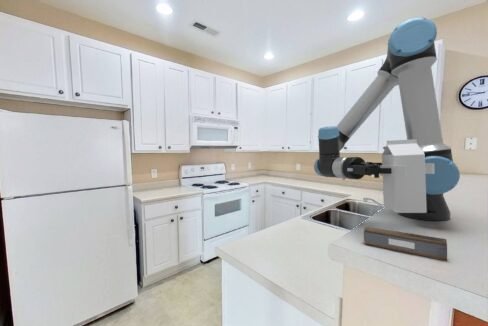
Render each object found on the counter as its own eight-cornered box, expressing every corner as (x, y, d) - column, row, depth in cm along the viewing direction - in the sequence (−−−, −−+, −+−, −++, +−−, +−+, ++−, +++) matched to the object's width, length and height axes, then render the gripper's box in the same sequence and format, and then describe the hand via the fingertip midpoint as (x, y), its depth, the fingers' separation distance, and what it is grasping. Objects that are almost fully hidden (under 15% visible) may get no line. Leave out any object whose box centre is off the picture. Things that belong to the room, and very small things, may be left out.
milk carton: (426, 213, 55) (424, 138, 54) (395, 213, 56) (392, 139, 56) (411, 207, 62) (409, 140, 61) (383, 207, 63) (381, 141, 63)
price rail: (366, 241, 59) (366, 226, 59) (446, 256, 49) (446, 239, 49) (363, 244, 57) (363, 229, 57) (447, 262, 46) (447, 243, 46)
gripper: (373, 176, 80) (448, 181, 58) (323, 181, 72) (389, 188, 51) (372, 155, 79) (447, 153, 58) (322, 158, 72) (387, 156, 51)
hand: (420, 169), depth 55 cm, fingers closed on milk carton, 10 cm apart
